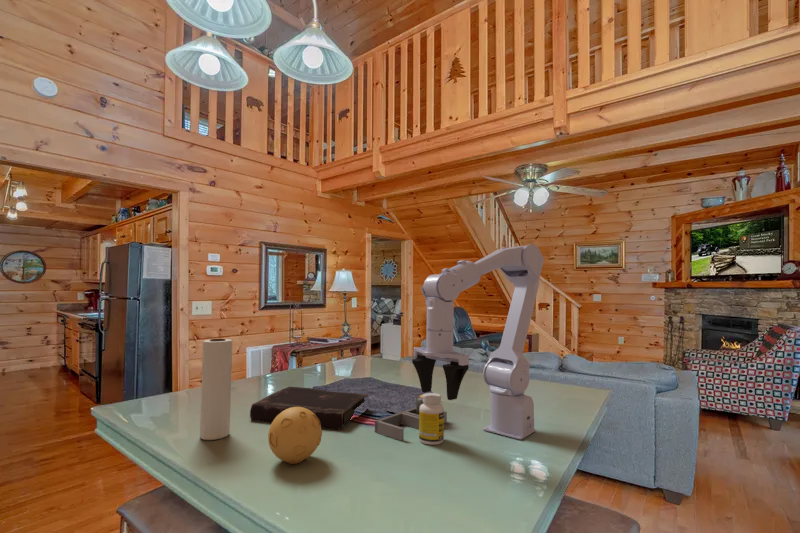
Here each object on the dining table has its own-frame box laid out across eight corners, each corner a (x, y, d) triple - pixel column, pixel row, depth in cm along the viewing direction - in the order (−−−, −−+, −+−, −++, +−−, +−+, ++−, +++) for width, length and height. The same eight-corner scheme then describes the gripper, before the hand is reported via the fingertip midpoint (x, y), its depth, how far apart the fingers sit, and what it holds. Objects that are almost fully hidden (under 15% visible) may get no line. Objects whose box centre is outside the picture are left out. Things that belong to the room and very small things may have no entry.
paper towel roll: (223, 440, 86) (226, 341, 87) (194, 441, 86) (198, 341, 87) (235, 429, 93) (237, 337, 95) (208, 429, 93) (211, 337, 94)
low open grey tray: (446, 421, 99) (446, 395, 99) (401, 440, 86) (401, 410, 87) (395, 408, 110) (395, 384, 111) (348, 423, 98) (348, 396, 98)
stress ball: (274, 458, 79) (247, 439, 72) (302, 413, 85) (279, 391, 78) (311, 478, 74) (286, 459, 68) (338, 429, 80) (318, 406, 73)
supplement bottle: (442, 446, 83) (442, 398, 84) (417, 444, 84) (417, 397, 85) (445, 437, 89) (444, 392, 89) (421, 435, 90) (421, 391, 90)
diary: (341, 434, 92) (341, 412, 93) (249, 424, 99) (249, 403, 100) (369, 410, 110) (369, 391, 110) (290, 402, 117) (290, 385, 117)
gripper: (403, 328, 88) (402, 391, 87) (452, 333, 77) (451, 406, 76) (426, 327, 92) (425, 386, 91) (475, 332, 81) (475, 400, 80)
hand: (438, 395), depth 84 cm, fingers open, 7 cm apart
